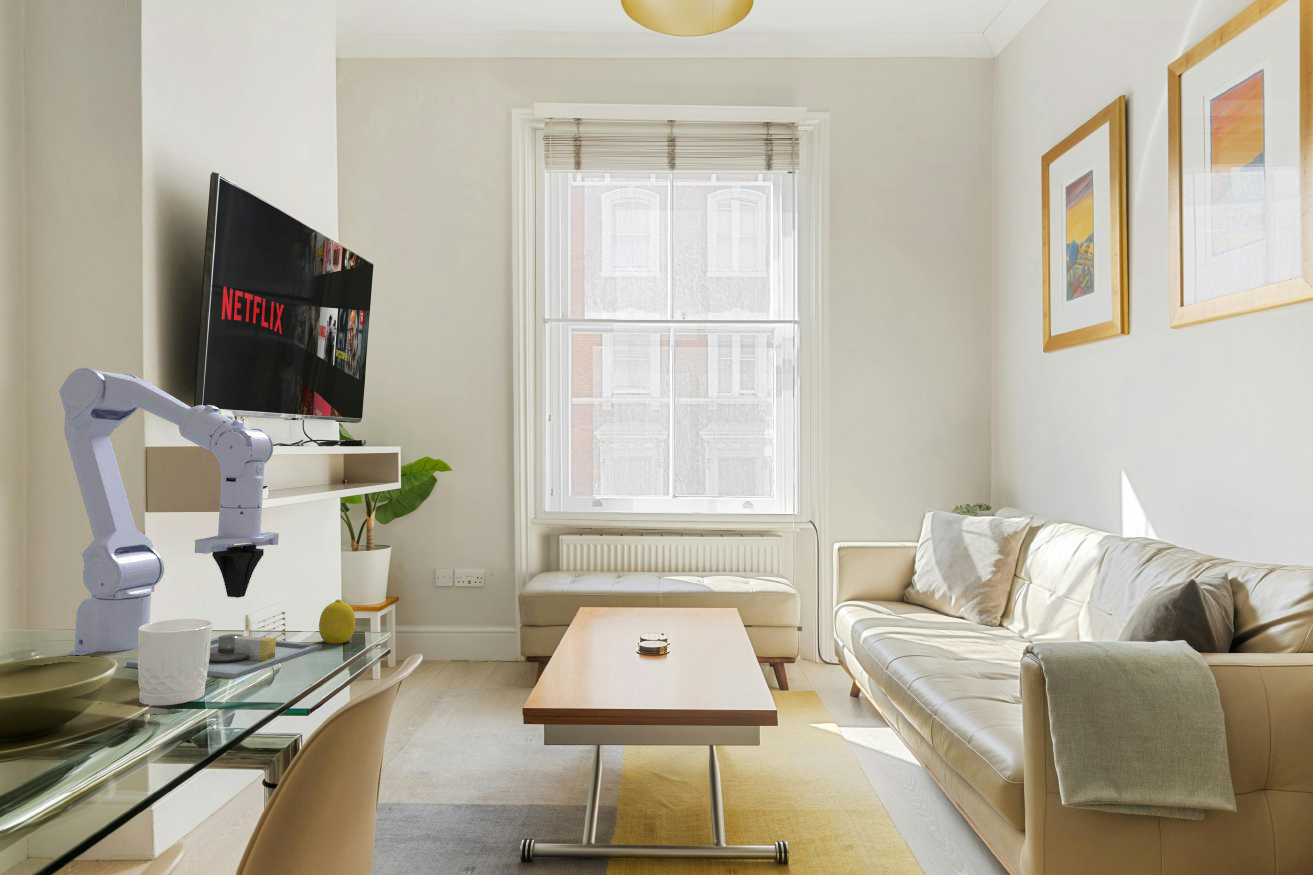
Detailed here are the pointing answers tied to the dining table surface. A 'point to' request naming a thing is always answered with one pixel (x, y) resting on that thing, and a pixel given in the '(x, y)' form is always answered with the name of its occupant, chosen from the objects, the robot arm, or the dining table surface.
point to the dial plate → (244, 667)
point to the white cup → (173, 662)
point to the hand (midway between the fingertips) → (235, 596)
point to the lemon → (337, 623)
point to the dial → (242, 648)
